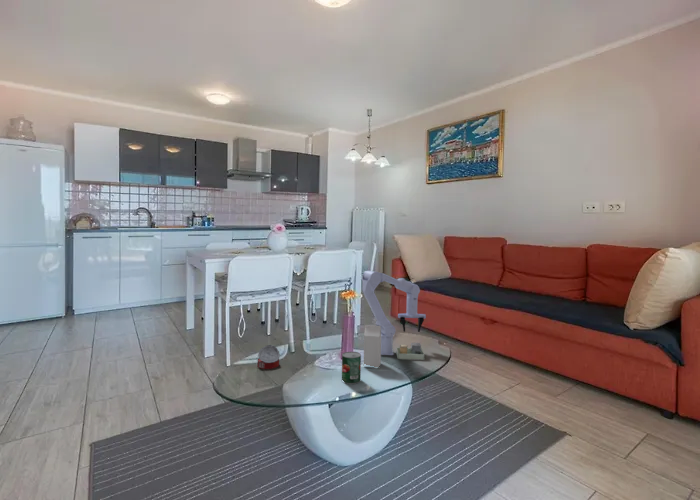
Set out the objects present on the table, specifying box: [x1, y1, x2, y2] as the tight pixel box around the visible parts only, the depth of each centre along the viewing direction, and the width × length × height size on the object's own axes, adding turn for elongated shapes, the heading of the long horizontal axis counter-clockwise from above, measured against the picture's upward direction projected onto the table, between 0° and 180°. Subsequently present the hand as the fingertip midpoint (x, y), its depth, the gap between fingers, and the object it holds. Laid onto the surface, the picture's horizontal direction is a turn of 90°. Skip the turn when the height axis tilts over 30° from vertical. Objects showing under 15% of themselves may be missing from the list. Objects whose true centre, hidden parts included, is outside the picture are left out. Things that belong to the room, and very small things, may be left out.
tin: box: [410, 342, 422, 354], centre depth 184 cm, size 5×5×6 cm
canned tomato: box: [341, 351, 362, 385], centre depth 153 cm, size 8×8×11 cm
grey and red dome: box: [257, 344, 281, 370], centre depth 170 cm, size 11×10×10 cm
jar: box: [399, 344, 409, 354], centre depth 184 cm, size 4×4×5 cm
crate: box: [395, 347, 426, 361], centre depth 184 cm, size 13×10×3 cm
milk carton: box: [363, 324, 382, 368], centre depth 170 cm, size 7×7×19 cm
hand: (411, 331), depth 196 cm, fingers open, 7 cm apart
